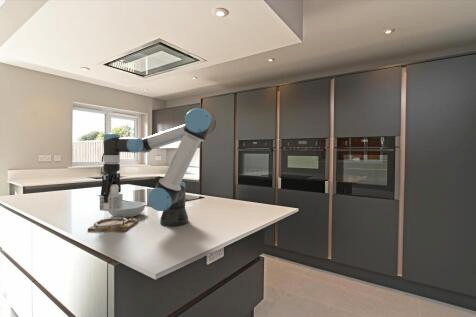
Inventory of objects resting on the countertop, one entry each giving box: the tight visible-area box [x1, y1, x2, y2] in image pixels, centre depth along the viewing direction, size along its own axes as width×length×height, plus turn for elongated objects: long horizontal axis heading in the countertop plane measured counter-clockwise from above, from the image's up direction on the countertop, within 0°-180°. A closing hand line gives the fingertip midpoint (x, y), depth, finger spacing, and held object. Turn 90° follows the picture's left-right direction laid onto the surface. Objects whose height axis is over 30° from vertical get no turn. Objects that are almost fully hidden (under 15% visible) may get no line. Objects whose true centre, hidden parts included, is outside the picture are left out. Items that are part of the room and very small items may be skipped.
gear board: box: [87, 216, 139, 233], centre depth 126 cm, size 18×16×4 cm
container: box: [99, 184, 124, 212], centre depth 125 cm, size 8×8×13 cm
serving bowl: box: [107, 200, 146, 219], centre depth 147 cm, size 21×21×7 cm
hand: (111, 206), depth 126 cm, fingers closed on container, 8 cm apart
